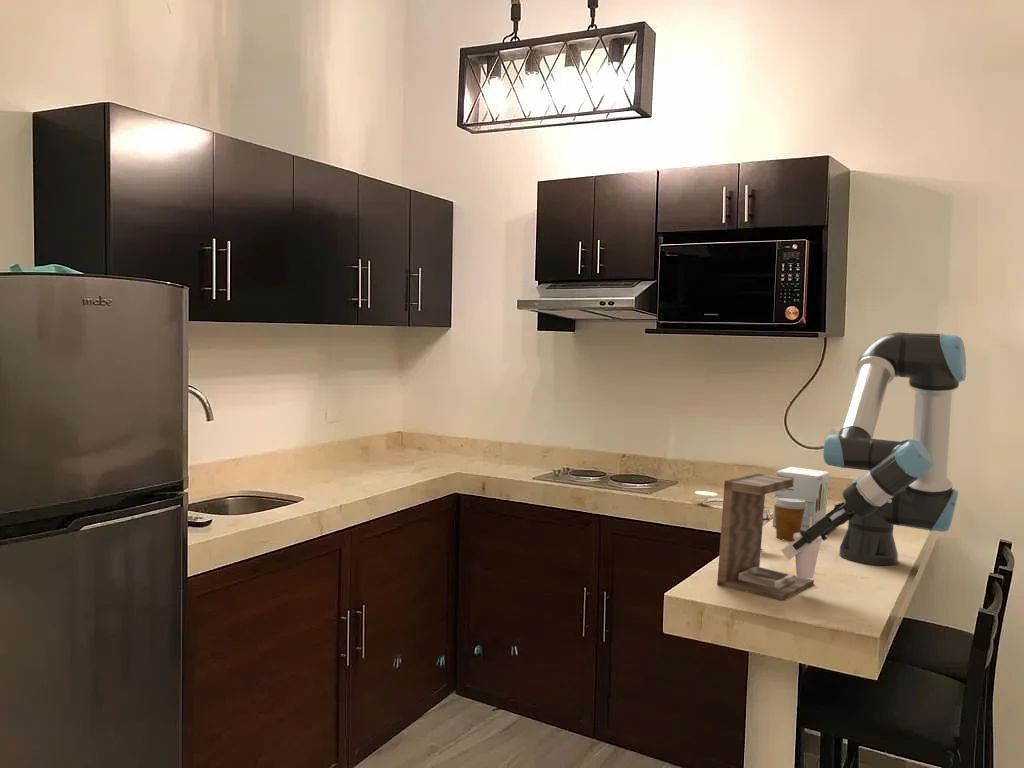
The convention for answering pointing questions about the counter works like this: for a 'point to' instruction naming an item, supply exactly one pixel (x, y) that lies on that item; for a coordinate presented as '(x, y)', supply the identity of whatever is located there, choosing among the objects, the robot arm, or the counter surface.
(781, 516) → the disposable coffee cup
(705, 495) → the hand towel holder
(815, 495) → the supplement box
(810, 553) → the smoothie
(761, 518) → the overhang shelf
